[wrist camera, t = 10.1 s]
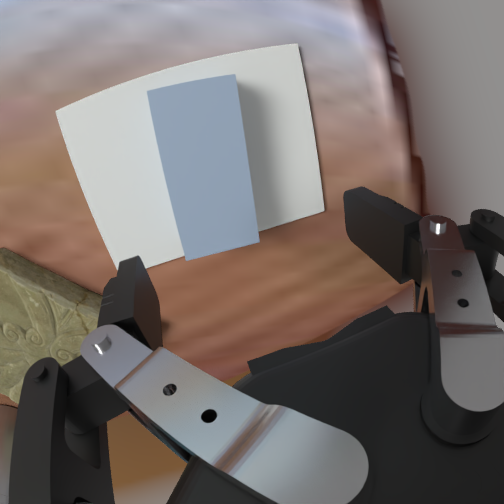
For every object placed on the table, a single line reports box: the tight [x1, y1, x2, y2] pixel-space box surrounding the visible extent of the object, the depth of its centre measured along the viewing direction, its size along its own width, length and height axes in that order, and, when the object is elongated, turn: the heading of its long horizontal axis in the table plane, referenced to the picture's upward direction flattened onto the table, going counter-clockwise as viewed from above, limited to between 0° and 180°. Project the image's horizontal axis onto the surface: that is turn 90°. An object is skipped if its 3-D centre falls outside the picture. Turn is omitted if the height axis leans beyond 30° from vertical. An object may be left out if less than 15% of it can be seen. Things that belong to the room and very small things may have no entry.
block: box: [147, 74, 260, 261], centre depth 22 cm, size 12×6×4 cm, turn 7°
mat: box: [56, 43, 325, 270], centre depth 24 cm, size 19×15×1 cm
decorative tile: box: [0, 248, 103, 404], centre depth 27 cm, size 19×20×4 cm
